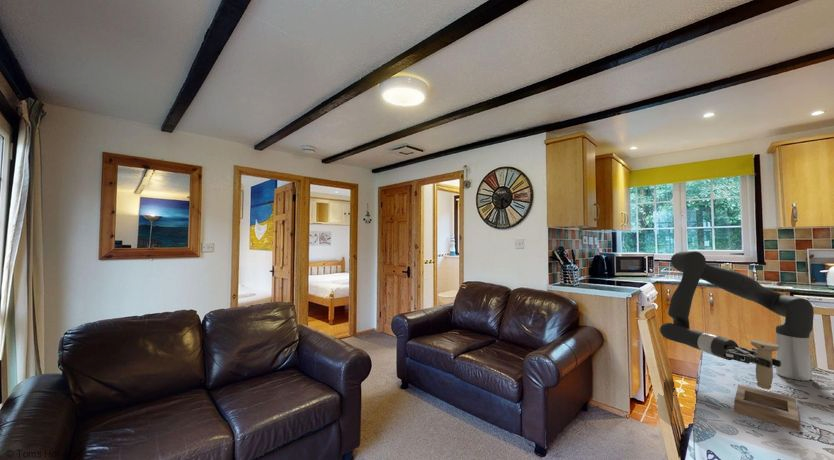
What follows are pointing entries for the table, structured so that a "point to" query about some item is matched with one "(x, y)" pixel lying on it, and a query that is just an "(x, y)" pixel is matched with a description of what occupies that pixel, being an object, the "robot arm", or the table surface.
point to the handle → (762, 372)
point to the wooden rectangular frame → (765, 412)
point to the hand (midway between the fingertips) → (775, 364)
